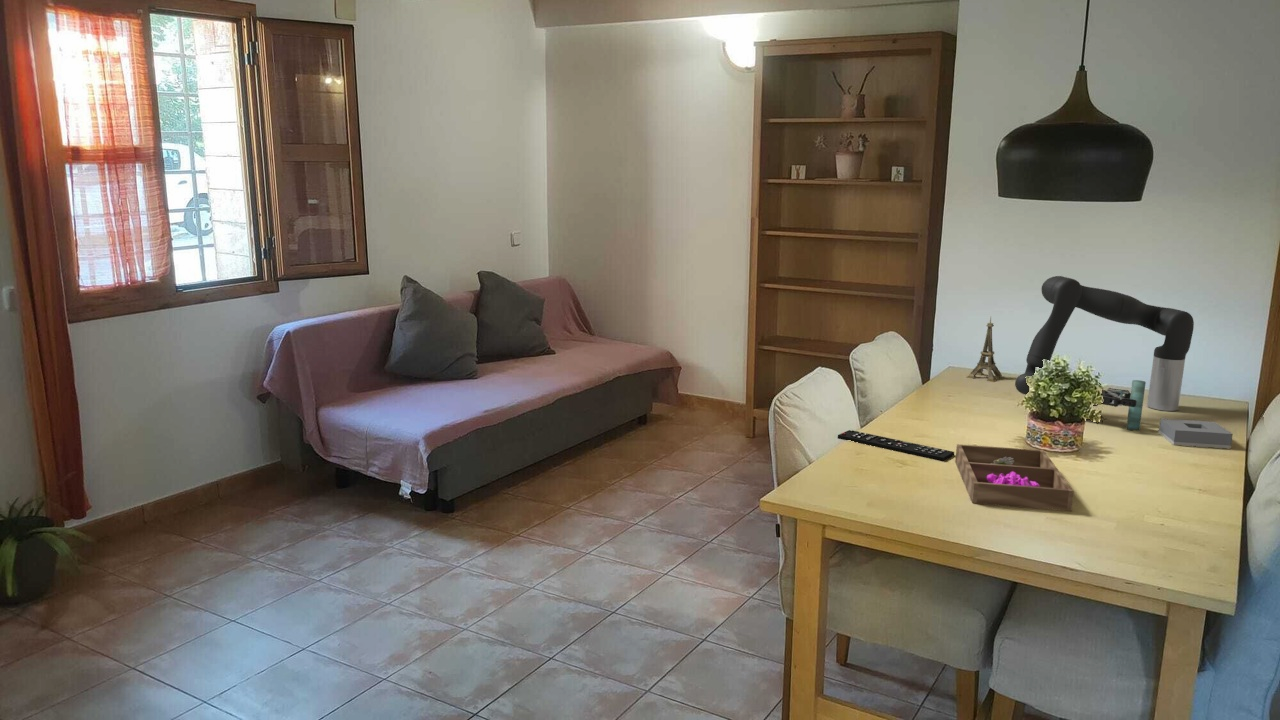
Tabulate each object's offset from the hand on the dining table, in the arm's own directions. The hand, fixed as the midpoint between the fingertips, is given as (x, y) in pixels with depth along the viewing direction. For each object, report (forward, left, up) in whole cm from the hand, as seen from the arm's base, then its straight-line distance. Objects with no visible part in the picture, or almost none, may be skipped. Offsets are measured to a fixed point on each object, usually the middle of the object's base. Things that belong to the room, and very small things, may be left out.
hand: (1139, 401), depth 285 cm
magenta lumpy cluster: (+74, -49, -9) cm, 89 cm away
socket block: (+9, +13, -9) cm, 18 cm away
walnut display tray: (+64, -48, -9) cm, 80 cm away
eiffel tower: (-64, -34, -9) cm, 73 cm away
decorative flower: (+59, -45, -9) cm, 75 cm away
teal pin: (0, -1, -9) cm, 9 cm away
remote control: (+37, -74, -10) cm, 83 cm away
